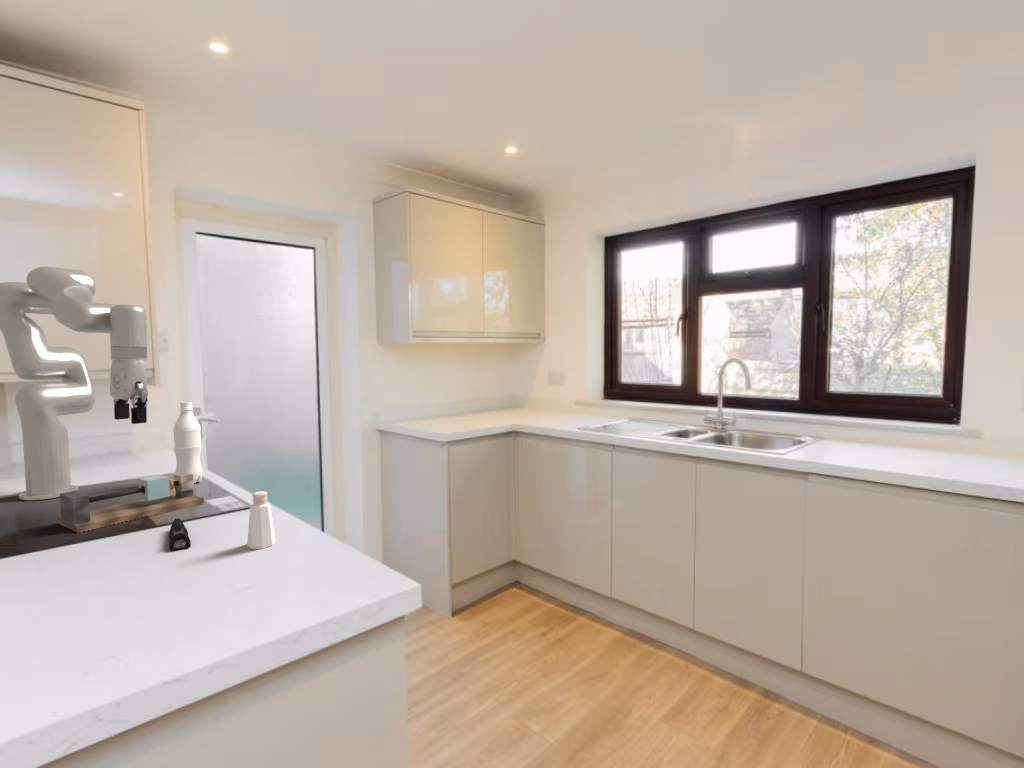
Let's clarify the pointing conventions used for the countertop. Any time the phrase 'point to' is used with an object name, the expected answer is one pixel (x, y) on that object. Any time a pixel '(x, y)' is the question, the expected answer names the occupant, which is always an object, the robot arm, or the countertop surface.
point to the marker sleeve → (154, 487)
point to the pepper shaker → (260, 523)
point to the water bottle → (188, 442)
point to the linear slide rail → (124, 505)
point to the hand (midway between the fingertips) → (130, 421)
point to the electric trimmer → (178, 536)
